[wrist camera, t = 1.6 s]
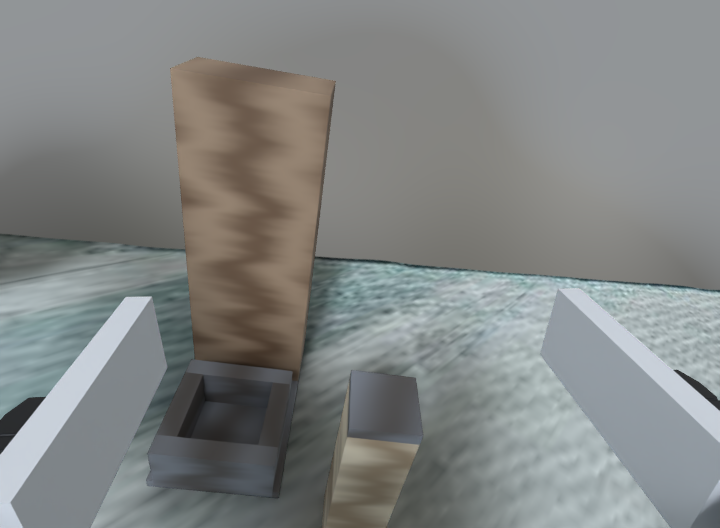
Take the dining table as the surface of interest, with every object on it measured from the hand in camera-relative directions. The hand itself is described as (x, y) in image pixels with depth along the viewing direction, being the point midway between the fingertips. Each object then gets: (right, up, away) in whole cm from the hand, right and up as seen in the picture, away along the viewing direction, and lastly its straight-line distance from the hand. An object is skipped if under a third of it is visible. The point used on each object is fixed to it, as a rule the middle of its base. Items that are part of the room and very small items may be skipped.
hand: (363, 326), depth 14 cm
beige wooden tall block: (-1, -18, +18) cm, 26 cm away
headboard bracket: (-11, -11, +26) cm, 30 cm away
